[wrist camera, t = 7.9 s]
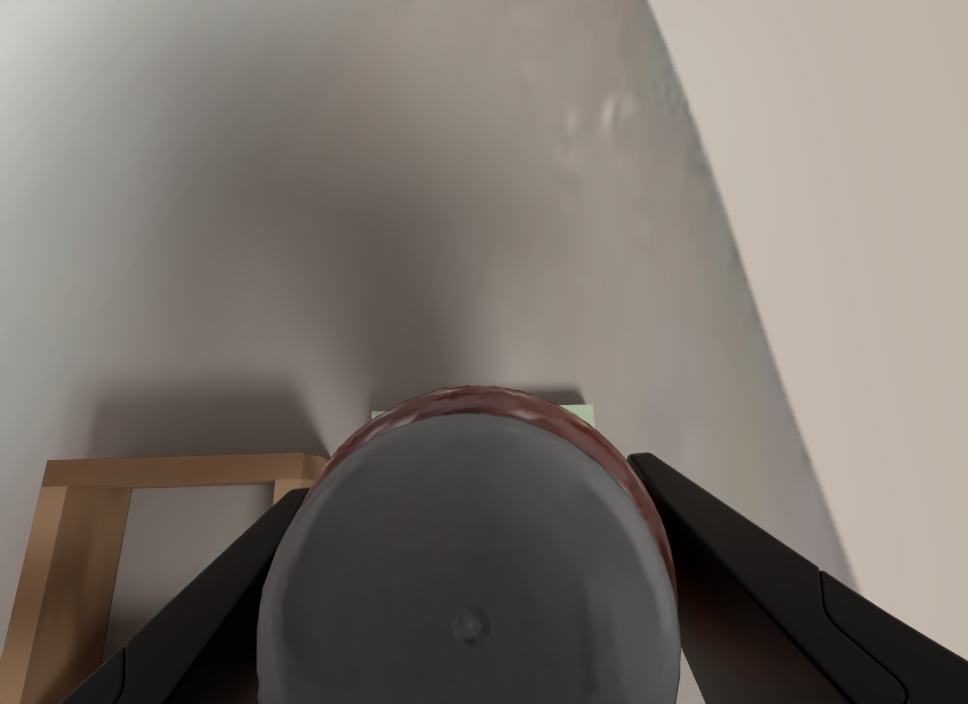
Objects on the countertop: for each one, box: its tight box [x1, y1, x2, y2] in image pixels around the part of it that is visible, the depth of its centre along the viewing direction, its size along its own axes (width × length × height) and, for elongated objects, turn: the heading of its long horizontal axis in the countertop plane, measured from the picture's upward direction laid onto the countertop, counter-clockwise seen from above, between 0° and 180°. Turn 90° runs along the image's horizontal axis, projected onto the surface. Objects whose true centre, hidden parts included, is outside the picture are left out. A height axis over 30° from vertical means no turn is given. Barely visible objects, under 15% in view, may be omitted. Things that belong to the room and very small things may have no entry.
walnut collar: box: [0, 452, 330, 704], centre depth 19 cm, size 10×10×4 cm
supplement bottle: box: [257, 386, 681, 704], centre depth 10 cm, size 6×6×11 cm
